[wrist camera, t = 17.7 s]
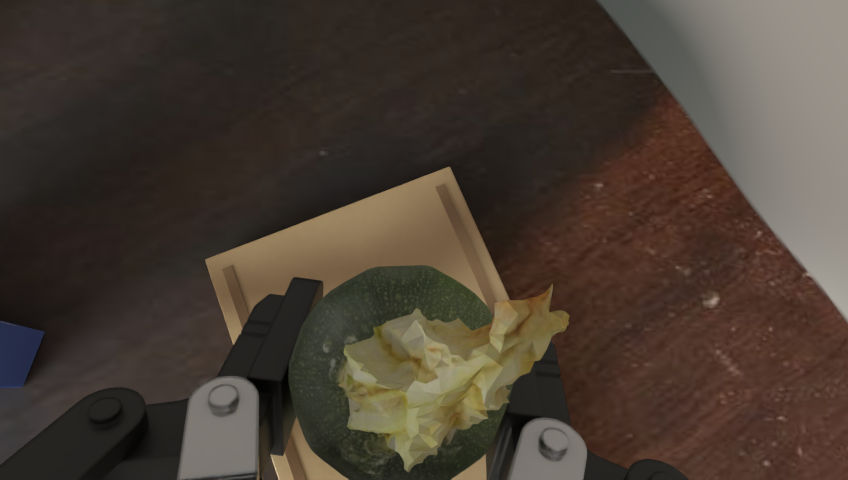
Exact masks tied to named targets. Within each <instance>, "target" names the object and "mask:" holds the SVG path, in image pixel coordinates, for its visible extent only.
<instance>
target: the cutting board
mask: <svg viewBox="0 0 848 480" xmlns="http://www.w3.org/2000/svg"><path fill="white" fill-rule="evenodd" d="M205 262H206V264H207V267H208V270H209V273H210V276H211V279H212V282H213V285H214V288H215V291H216V294H217V297H218V300H219V303H220V306H221V309H222V312H223V315H224V318H225V321H226V324H227V327H228V330H229V333H230V336H231V339H232V342H233V345H234V344H235V342H236V340H237V338H238V336H239V334H241V330H242V328H243V327H244V325H245V323H246V322H247V319H248V317H249V315H250V313H251V312H252V310H253V308H254V306H255V305H256V304H257V303H258V302H260V301H261V300H262V299H263V298H265V297H266V296H267V295H269V294H276V295H285V293H286V291H287V289H288V287H289V284H290V282H291V280H292V278H293V277H298V278H306V279H313V280H321V281H323V297H324V296H325V295H326V294H327V293H329V292H330V291H331V290H333V289H334V288H336V287H337V286H339V285H341V284H342V283H344V282H346V281H347V280H349V279H351V278H353V277H355V276H356V275H358V274H360V273H362V272H364V271H365V270H367V269H370V268H374V267H382V266H411V265H427V266H431V267H434V268H435V269H437V270H439V271H441V272H442V273H444V274H446V275H448V276H449V277H451V278H453V279H455V280H457V281H458V282H460V283H461V284H463V285H464V286H466V287H467V288H468V289H470V290H471V291H472V292H474V293H475V294H476V295H477V296H478V297H479V298H480V299H481V300H482V301H483V302H484V303H485V304H486V305H487V307H488V308H489V310H490V312H491V313H492V315H493V314H494V310H495V303H497V302H500V301H504V300H510V299H509V297H508V295H507V292H506V290H505V288H504V286H503V283H502V281H501V279H500V277H499V275H498V272H497V270H496V268H495V266H494V263H493V261H492V259H491V257H490V255H489V252H488V250H487V248H486V246H485V243H484V241H483V239H482V237H481V235H480V232H479V230H478V228H477V226H476V223H475V221H474V219H473V217H472V215H471V212H470V210H469V208H468V206H467V203H466V201H465V199H464V197H463V195H462V192H461V190H460V188H459V186H458V183H457V181H456V179H455V177H454V175H453V172H452V170H451V168H450V167H447V168H444V169H441V170H439V171H436V172H434V173H431V174H428V175H426V176H423V177H420V178H418V179H415V180H412V181H410V182H407V183H405V184H402V185H399V186H397V187H394V188H391V189H389V190H386V191H384V192H381V193H378V194H376V195H373V196H370V197H368V198H365V199H363V200H360V201H357V202H355V203H352V204H349V205H347V206H344V207H342V208H339V209H336V210H334V211H331V212H328V213H326V214H323V215H321V216H318V217H315V218H313V219H310V220H307V221H305V222H302V223H300V224H297V225H294V226H292V227H289V228H286V229H284V230H281V231H278V232H276V233H273V234H271V235H268V236H265V237H263V238H260V239H257V240H255V241H252V242H250V243H247V244H244V245H242V246H239V247H236V248H234V249H231V250H229V251H226V252H223V253H221V254H218V255H215V256H213V257H210V258H208V259H206V260H205ZM270 455H271V454H270ZM271 458H272V461H273V464H274V467H275V470H276V473H277V476H278V479H279V480H349V479H347V478H346V477H344V476H343V475H341V474H340V473H339V472H337V471H336V470H335V469H334V468H332V467H331V466H330V465H328V464H327V463H326V462H324V461H323V460H322V459H320V458H319V457H318V456H317V455H316V454H315V453H314V452H313V451H312V450H311V449H310V447H309V445H308V443H307V442H306V440H305V438H304V435H303V432H302V430H301V427H300V425H299V422H298V419H297V417H296V419H295V422H294V425H293V428H292V431H291V434H290V437H289V440H288V443H287V446H286V449H285V452H284V455H283V456H278V455H271ZM451 480H487V477H486V454H485V455H484V456H483V457H482V458H481V459H480V460H478V461H477V462H476V463H474V464H473V465H471V466H470V467H469V468H467V469H466V470H464V471H463V472H461V473H460V474H458V475H457V476H455V477H454V478H452V479H451Z"/></svg>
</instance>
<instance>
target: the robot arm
mask: <svg viewBox="0 0 848 480" xmlns="http://www.w3.org/2000/svg"><path fill="white" fill-rule="evenodd" d="M322 298H323V281H321V280H313V279H306V278H298V277H293V278H292V280H291V282H290V284H289V287H288V289H287V291H286V293H285V295H276V294H269V295H267V296H266V297H265V298H263V299H262V300H261V301H260V302H258V303H257V304H256V305H255V306H254V308H253V310H252V312H251V313H250V315H249V317H248V319H247V322H246V323H245V325H244V327H243V328H242V330H241V334H239V336H238V338H237V340H236V342H235V344H234V345H233V347H232V349H231V351H230V353H229V355H228V357H227V359H226V361H225V362H224V364H223V366H222V368H221V370H220V372H219V374H218V376H217V377H216V378H213V379H211V380H208V381H206V382H205V383H203V384H201V385H200V386H199V387H198V388H197V389H195V390H194V392H193V393H192V394H191V396H190V398H187V399H184V400H180V401H174V402H166V403H158V404H150V405H145V401H144V399H143V397H142V396H141V395H140V394H139V393H138V392H136V391H134V390H131V389H128V388H108V389H103V390H100V391H97V392H94V393H92V394H90V395H88V396H86V397H85V398H83V399H82V400H80V401H79V402H77V403H76V404H75V405H74V406H73V407H71V408H70V409H69V410H68V411H66V412H65V413H64V414H63V415H61V416H60V417H59V418H58V419H56V420H55V421H54V422H53V423H52V424H50V425H49V426H48V427H47V428H45V429H44V430H43V431H42V432H40V433H39V434H38V435H37V436H36V437H34V438H33V439H32V440H31V441H29V442H28V443H27V444H26V445H24V446H23V447H22V448H21V449H19V450H18V451H17V452H16V453H15V454H13V455H12V456H11V457H10V458H8V459H7V460H6V461H5V462H3V463H2V464H1V465H0V480H263V473H264V470H265V467H266V464H267V462H268V459H269V456H270V454H271V455H278V456H283V455H284V452H285V449H286V446H287V443H288V440H289V437H290V434H291V431H292V428H293V425H294V422H295V419H296V414H295V411H294V408H293V403H292V398H291V392H290V387H289V382H288V375H289V362H290V359H291V356H292V352H293V349H294V346H295V343H296V340H297V337H298V334H299V331H300V328H301V326H302V324H303V323H304V321H305V320H306V318H307V317H308V315H309V314H310V313H311V311H312V310H313V308H314V307H315V305H316V304H317V303H318V302H319V301H320V300H321V299H322ZM494 316H495V310H494V314H493V317H494ZM560 375H561V374H560V369H559V365H558V359H557V354H556V349H555V345H554V344H553V343H552V341H551V340H550V343H549V345H548V348H547V350H546V352H545V353H544V355H543V357H542V358H541V359H540V360H538V361H535V362H534V364H533V366H532V369H531V371H530V372H529V373H527V374H524V375H522V376H520V377H519V378H518V379H517V380H516V381H515V382H514V383H513V387H512V390H511V394H510V397H509V400H508V401H509V402H510V403H508V404H507V407H506V410H505V413H504V415H503V418H502V420H501V423H500V425H499V428H498V430H497V433H496V435H495V437H494V440H493V442H492V444H491V446H490V448H489V450H488V451H487V452H486V477H487V480H688V478H687V477H686V476H685V475H683V474H682V473H681V472H680V471H679V470H677V469H676V468H674V467H672V466H670V465H668V464H666V463H664V462H661V461H658V460H652V459H643V460H639V461H637V462H635V463H633V464H632V465H631V466H630V468H629V469H627V468H624V467H622V466H619V465H617V464H614V463H612V462H610V461H607V460H605V459H603V458H601V457H599V456H597V455H595V454H594V453H592V452H591V451H589V450H588V449H587V448H586V445H585V443H584V441H583V439H582V437H581V436H580V435H579V434H578V433H577V432H576V431H575V430H574V429H573V428H572V427H571V423H570V418H569V413H568V408H567V403H566V399H565V394H564V389H563V384H562V379H561V378H560Z"/></svg>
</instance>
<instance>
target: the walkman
mask: <svg viewBox="0 0 848 480" xmlns="http://www.w3.org/2000/svg"><path fill="white" fill-rule="evenodd" d="M44 333H45V332H44V331H40V330H36V329H32V328H28V327H24V326H20V325H16V324H12V323H8V322H4V321H0V388H14V387H23V385H24V383H25V380H26V378H27V375H28V373H29V370H30V368H31V365H32V363H33V360H34V358H35V355H36V353H37V350H38V348H39V345H40V343H41V340H42V338H43V335H44Z"/></svg>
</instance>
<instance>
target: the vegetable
mask: <svg viewBox="0 0 848 480" xmlns="http://www.w3.org/2000/svg"><path fill="white" fill-rule="evenodd" d="M552 290H553V283H552V285H551V286H550V287H549V289H548V290H547V292H545V293H543V294H542V295H540V296H538V297H532V298H528V299H524V300H504V301H500V302H497V303H495V316H494V317H493V315H492V313H491V312H490V310H489V308H488V307H487V305H486V304H485V303H484V302H483V301H482V300H481V299H480V298H479V297H478V296H477V295H476V294H475V293H474V292H472V291H471V290H470V289H468V288H467V287H466V286H464V285H463V284H461V283H460V282H458V281H457V280H455V279H453V278H451V277H449V276H448V275H446V274H444V273H442V272H441V271H439V270H437V269H435V268H434V267H431V266H427V265H411V266H382V267H374V268H370V269H367V270H365V271H364V272H362V273H360V274H358V275H356V276H355V277H353V278H351V279H349V280H347V281H346V282H344V283H342V284H341V285H339V286H337V287H336V288H334V289H333V290H331V291H330V292H329V293H327V294H326V295H325V296H324V297H323V298H322V299H321V300H320V301H319V302H318V303H317V304H316V305H315V307H314V308H313V310H312V311H311V313H310V314H309V315H308V317H307V318H306V320H305V321H304V323H303V324H302V326H301V328H300V331H299V334H298V337H297V340H296V343H295V346H294V349H293V352H292V356H291V359H290V362H289V375H288V382H289V387H290V392H291V398H292V403H293V408H294V411H295V414H296V417H297V419H298V422H299V425H300V427H301V430H302V432H303V435H304V438H305V440H306V442H307V443H308V445H309V447H310V449H311V450H312V451H313V452H314V453H315V454H316V455H317V456H318V457H319V458H320V459H322V460H323V461H324V462H326V463H327V464H328V465H330V466H331V467H332V468H334V469H335V470H336V471H337V472H339V473H340V474H341V475H343V476H344V477H346V478H347V479H349V480H451V479H452V478H454V477H455V476H457V475H458V474H460V473H461V472H463V471H464V470H466V469H467V468H469V467H470V466H471V465H473V464H474V463H476V462H477V461H478V460H480V459H481V458H482V457H483V456H484V455H485V454H486V452H487V451H488V450H489V448H490V446H491V444H492V442H493V440H494V437H495V435H496V433H497V430H498V428H499V425H500V423H501V420H502V418H503V415H504V413H505V410H506V407H507V404H508V403H510V402H509V401H508V400H509V397H510V394H511V390H512V387H513V383H514V382H515V381H516V380H517V379H518V378H519V377H520V376H522V375H524V374H527V373H529V372H530V371H531V369H532V366H533V364H534V362H535V361H538V360H540V359H541V358H542V357H543V355H544V353H545V352H546V350H547V348H548V345H549V343H550V340H551V337H552V336H553V335H555V334H556V333H558V332H563V331H565V330H566V327H567V325H568V324H569V322H568V320H569V315H568V314H567V313H566V312H565V311H560V310H558V311H554V312H549V307H550V302H551V296H552Z"/></svg>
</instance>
